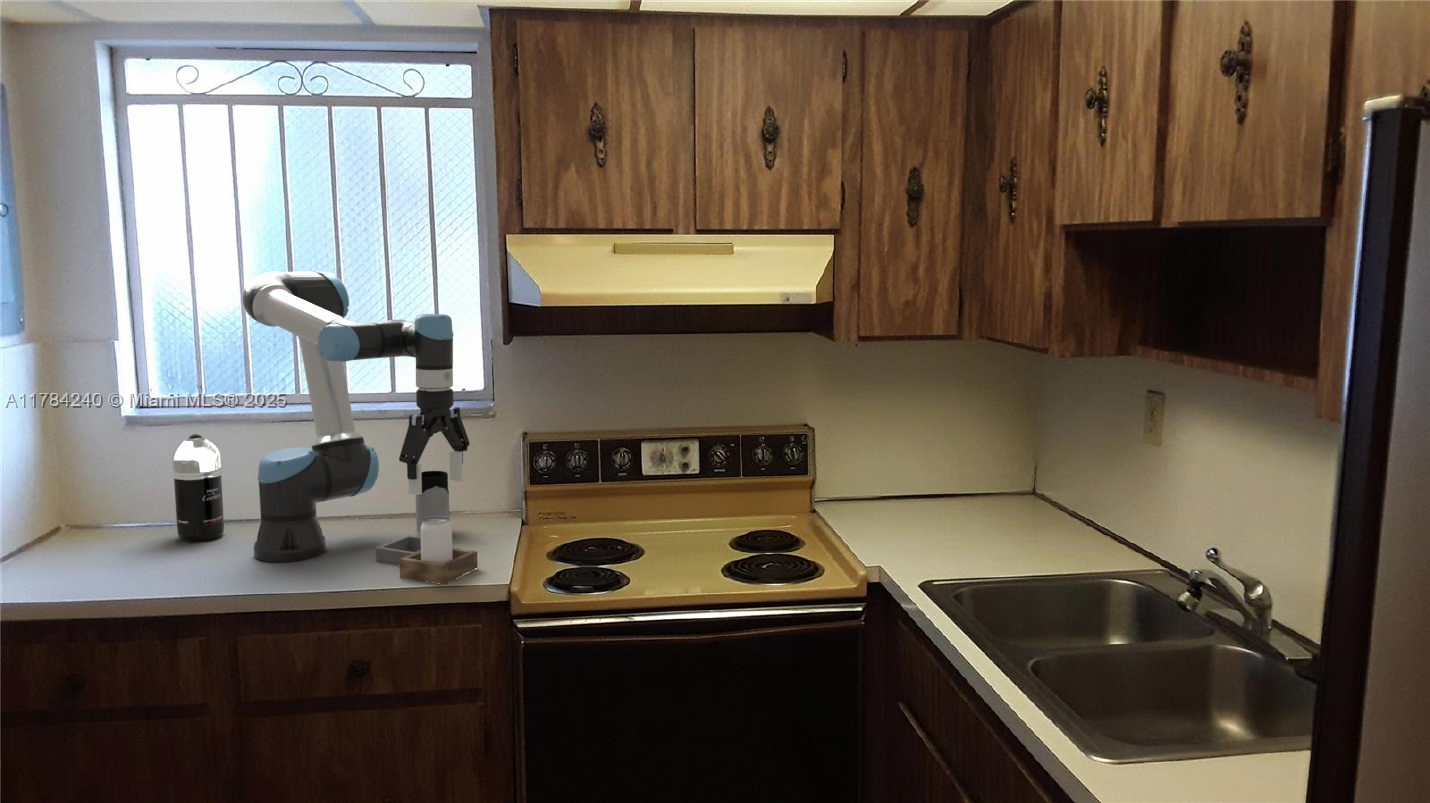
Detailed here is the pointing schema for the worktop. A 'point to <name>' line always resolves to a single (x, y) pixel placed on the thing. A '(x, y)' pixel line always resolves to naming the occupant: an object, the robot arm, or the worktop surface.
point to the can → (436, 540)
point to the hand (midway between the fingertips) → (436, 487)
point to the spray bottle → (198, 490)
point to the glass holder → (432, 497)
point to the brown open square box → (438, 567)
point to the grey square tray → (398, 549)
